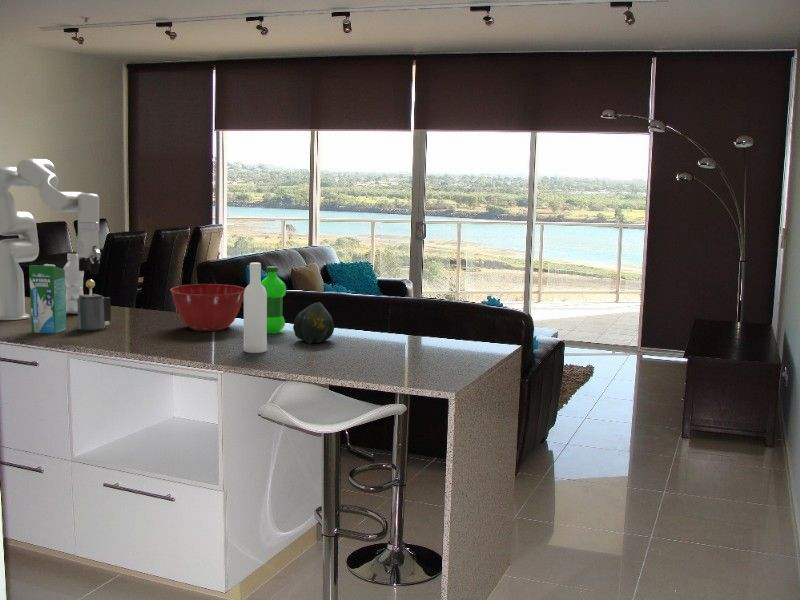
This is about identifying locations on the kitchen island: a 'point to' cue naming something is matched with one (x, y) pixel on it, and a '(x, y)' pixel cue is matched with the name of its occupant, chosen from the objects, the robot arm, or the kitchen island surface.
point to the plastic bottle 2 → (274, 300)
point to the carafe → (93, 312)
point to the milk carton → (47, 299)
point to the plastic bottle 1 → (73, 283)
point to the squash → (314, 324)
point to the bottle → (255, 313)
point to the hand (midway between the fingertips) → (88, 272)
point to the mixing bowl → (208, 305)
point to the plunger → (90, 286)
